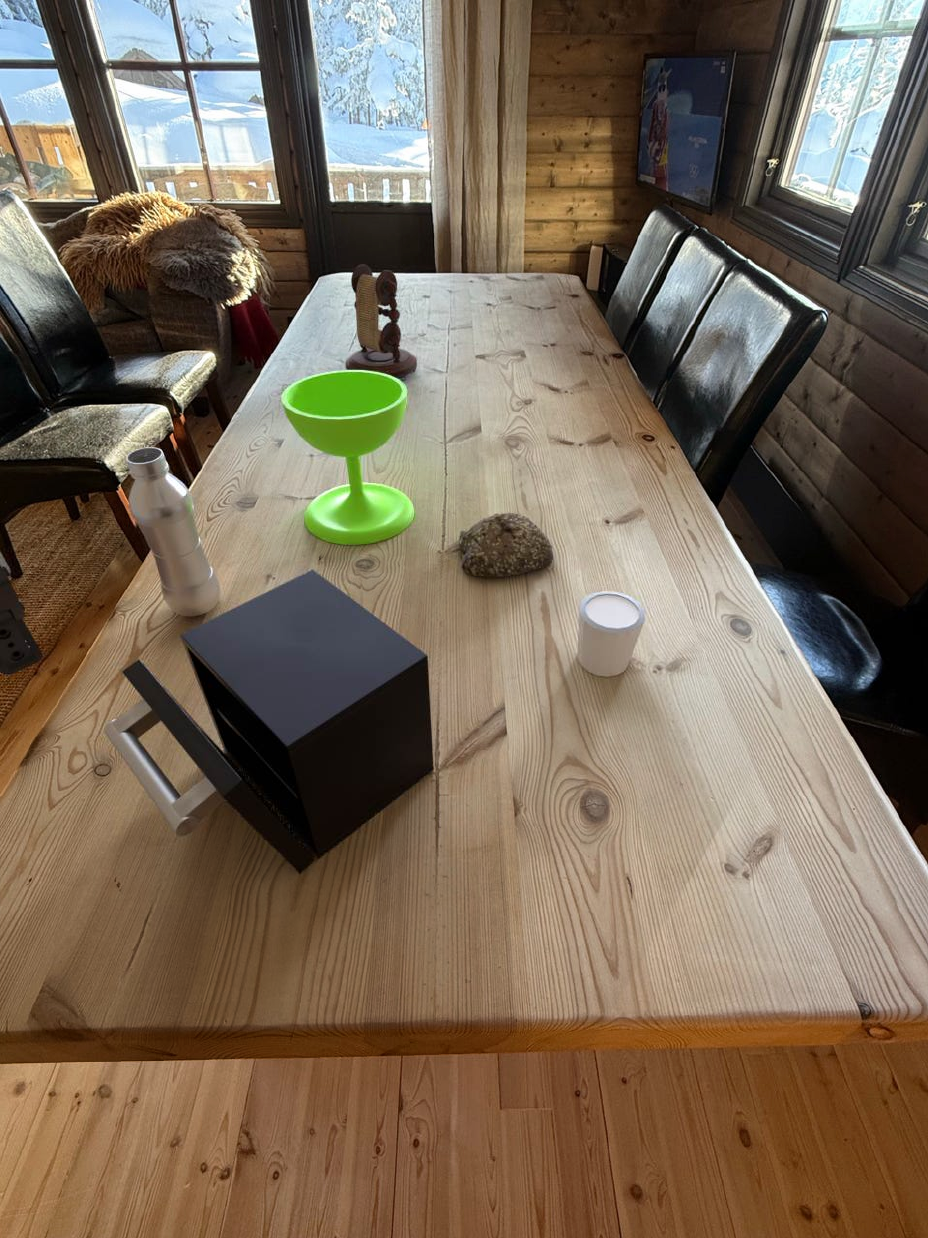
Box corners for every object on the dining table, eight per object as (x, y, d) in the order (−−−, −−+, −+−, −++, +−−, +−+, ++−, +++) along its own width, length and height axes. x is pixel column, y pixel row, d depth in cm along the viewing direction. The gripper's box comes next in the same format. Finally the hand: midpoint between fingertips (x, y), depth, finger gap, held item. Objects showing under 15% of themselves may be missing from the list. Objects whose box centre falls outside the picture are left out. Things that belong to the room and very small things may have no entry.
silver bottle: (221, 584, 83) (176, 436, 70) (227, 616, 79) (179, 464, 65) (168, 595, 82) (111, 446, 68) (170, 629, 77) (109, 476, 64)
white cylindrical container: (611, 690, 69) (621, 642, 65) (559, 659, 73) (565, 611, 68) (646, 657, 73) (658, 609, 69) (595, 629, 77) (603, 581, 72)
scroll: (331, 374, 137) (317, 268, 124) (382, 355, 145) (374, 254, 132) (381, 392, 130) (372, 282, 117) (431, 371, 138) (428, 266, 125)
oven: (318, 859, 55) (286, 747, 45) (223, 749, 64) (179, 634, 54) (434, 770, 62) (427, 655, 52) (333, 681, 70) (312, 568, 61)
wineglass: (437, 509, 97) (433, 389, 85) (358, 559, 87) (341, 431, 76) (361, 476, 104) (348, 361, 93) (281, 518, 95) (254, 396, 83)
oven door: (262, 910, 53) (171, 839, 42) (171, 788, 61) (76, 703, 50) (315, 859, 55) (242, 779, 44) (220, 748, 63) (139, 658, 52)
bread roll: (560, 573, 85) (564, 541, 82) (467, 585, 83) (467, 553, 80) (533, 521, 94) (535, 490, 91) (448, 530, 92) (447, 499, 89)
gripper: (-307, 335, 28) (-83, 636, 39) (-282, 433, 21) (-17, 768, 32) (-100, 299, 32) (49, 583, 43) (-19, 371, 25) (134, 689, 36)
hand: (20, 661), depth 38 cm, fingers closed
